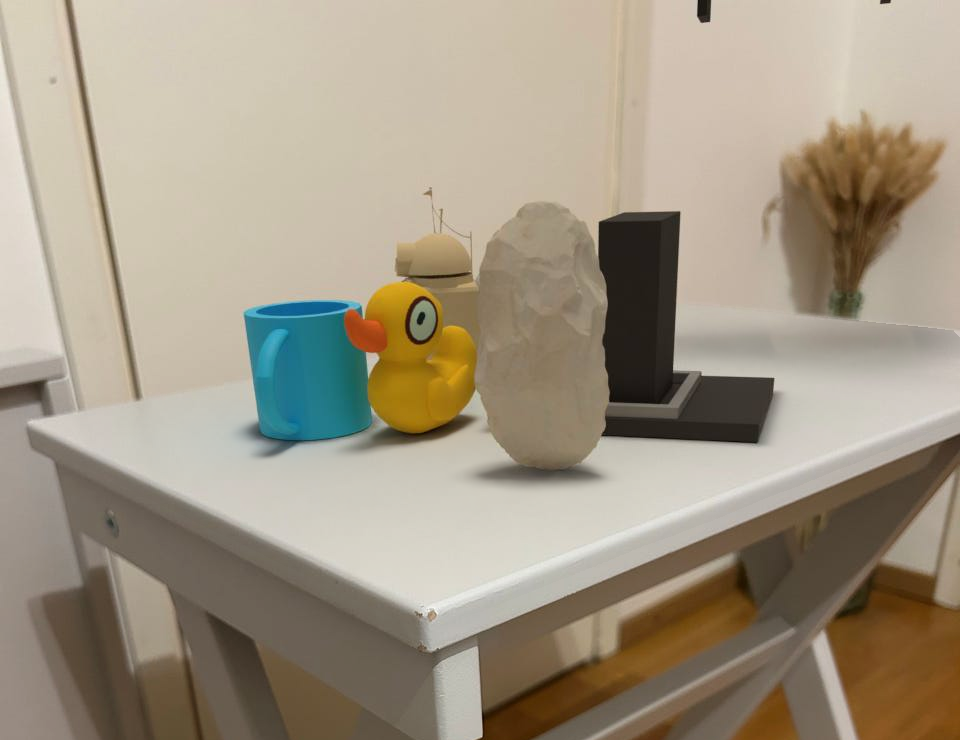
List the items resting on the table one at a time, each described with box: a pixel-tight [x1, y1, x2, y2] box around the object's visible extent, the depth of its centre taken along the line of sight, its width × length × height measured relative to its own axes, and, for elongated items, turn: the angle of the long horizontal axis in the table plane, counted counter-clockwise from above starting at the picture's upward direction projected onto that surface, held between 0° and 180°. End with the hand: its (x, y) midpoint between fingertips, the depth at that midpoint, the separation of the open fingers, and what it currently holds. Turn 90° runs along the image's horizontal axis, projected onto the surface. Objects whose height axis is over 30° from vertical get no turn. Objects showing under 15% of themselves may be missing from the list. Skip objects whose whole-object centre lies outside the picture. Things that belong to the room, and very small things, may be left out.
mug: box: [243, 299, 373, 441], centre depth 69 cm, size 12×8×8 cm
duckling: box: [344, 281, 477, 434], centre depth 68 cm, size 11×5×10 cm, turn 140°
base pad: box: [601, 369, 775, 443], centre depth 72 cm, size 18×14×2 cm
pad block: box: [597, 210, 682, 404], centre depth 69 cm, size 4×8×12 cm, turn 161°
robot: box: [394, 186, 481, 361], centre depth 82 cm, size 10×8×15 cm
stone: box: [474, 200, 610, 471], centre depth 57 cm, size 8×5×15 cm
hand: (792, 10), depth 77 cm, fingers open, 13 cm apart
